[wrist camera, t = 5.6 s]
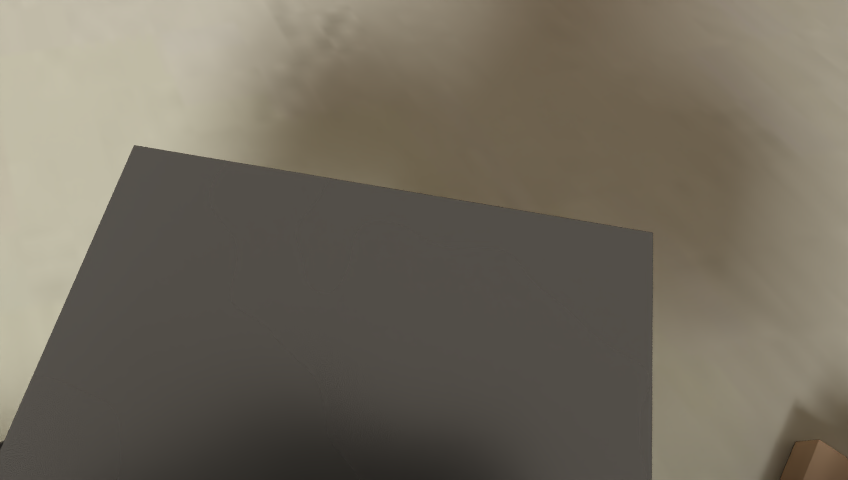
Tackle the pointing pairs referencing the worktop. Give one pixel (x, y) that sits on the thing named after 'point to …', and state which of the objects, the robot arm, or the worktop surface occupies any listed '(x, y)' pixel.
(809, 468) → the bit holder
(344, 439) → the square bit
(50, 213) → the worktop surface
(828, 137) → the worktop surface
